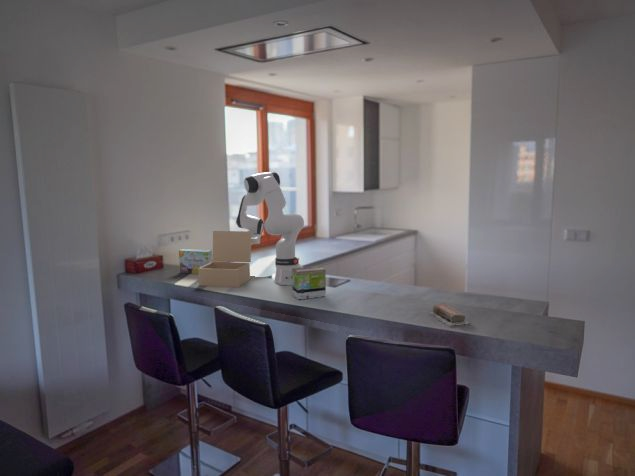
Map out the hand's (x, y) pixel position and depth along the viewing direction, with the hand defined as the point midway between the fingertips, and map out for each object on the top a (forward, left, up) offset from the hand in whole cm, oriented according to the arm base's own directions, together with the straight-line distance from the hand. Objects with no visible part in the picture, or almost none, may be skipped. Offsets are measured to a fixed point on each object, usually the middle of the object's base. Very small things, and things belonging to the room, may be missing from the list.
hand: (239, 242), depth 293 cm
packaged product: (-125, +67, -21) cm, 143 cm away
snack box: (+29, +3, -20) cm, 36 cm away
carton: (0, +23, -20) cm, 30 cm away
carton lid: (0, +12, -1) cm, 12 cm away
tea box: (-56, +43, -20) cm, 73 cm away
